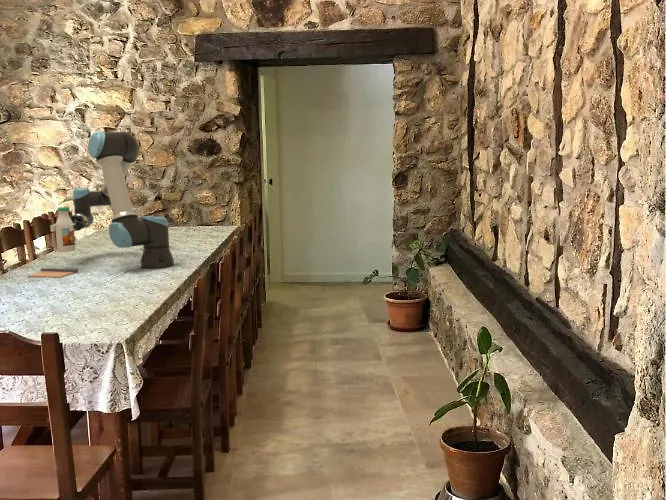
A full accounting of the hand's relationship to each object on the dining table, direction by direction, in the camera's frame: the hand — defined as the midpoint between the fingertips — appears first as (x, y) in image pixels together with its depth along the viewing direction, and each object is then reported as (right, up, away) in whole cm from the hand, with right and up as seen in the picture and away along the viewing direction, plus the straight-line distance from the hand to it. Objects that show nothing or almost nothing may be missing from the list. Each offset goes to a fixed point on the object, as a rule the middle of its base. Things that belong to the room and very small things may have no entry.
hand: (60, 228), depth 305 cm
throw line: (-1, -20, +2) cm, 20 cm away
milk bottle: (0, -10, +7) cm, 12 cm away
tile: (-3, -21, -5) cm, 21 cm away
